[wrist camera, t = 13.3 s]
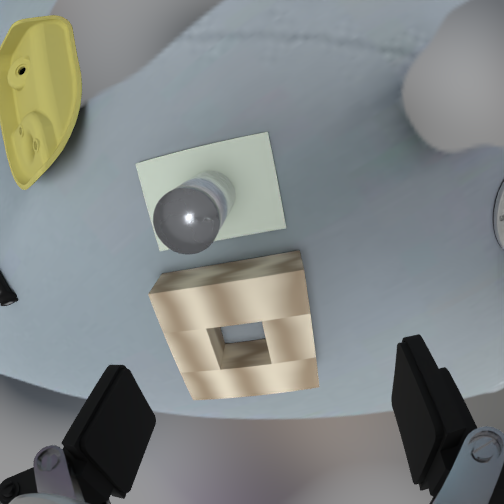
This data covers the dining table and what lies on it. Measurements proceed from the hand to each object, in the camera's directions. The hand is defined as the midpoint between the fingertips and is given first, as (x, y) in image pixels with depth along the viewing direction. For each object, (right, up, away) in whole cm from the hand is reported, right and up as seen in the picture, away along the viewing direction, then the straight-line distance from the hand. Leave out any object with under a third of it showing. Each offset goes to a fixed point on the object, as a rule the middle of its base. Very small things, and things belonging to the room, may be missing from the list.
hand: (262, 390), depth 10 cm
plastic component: (-26, +23, +20) cm, 40 cm away
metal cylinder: (-4, +10, +22) cm, 25 cm away
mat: (-5, +11, +23) cm, 26 cm away
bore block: (-1, -4, +29) cm, 29 cm away
